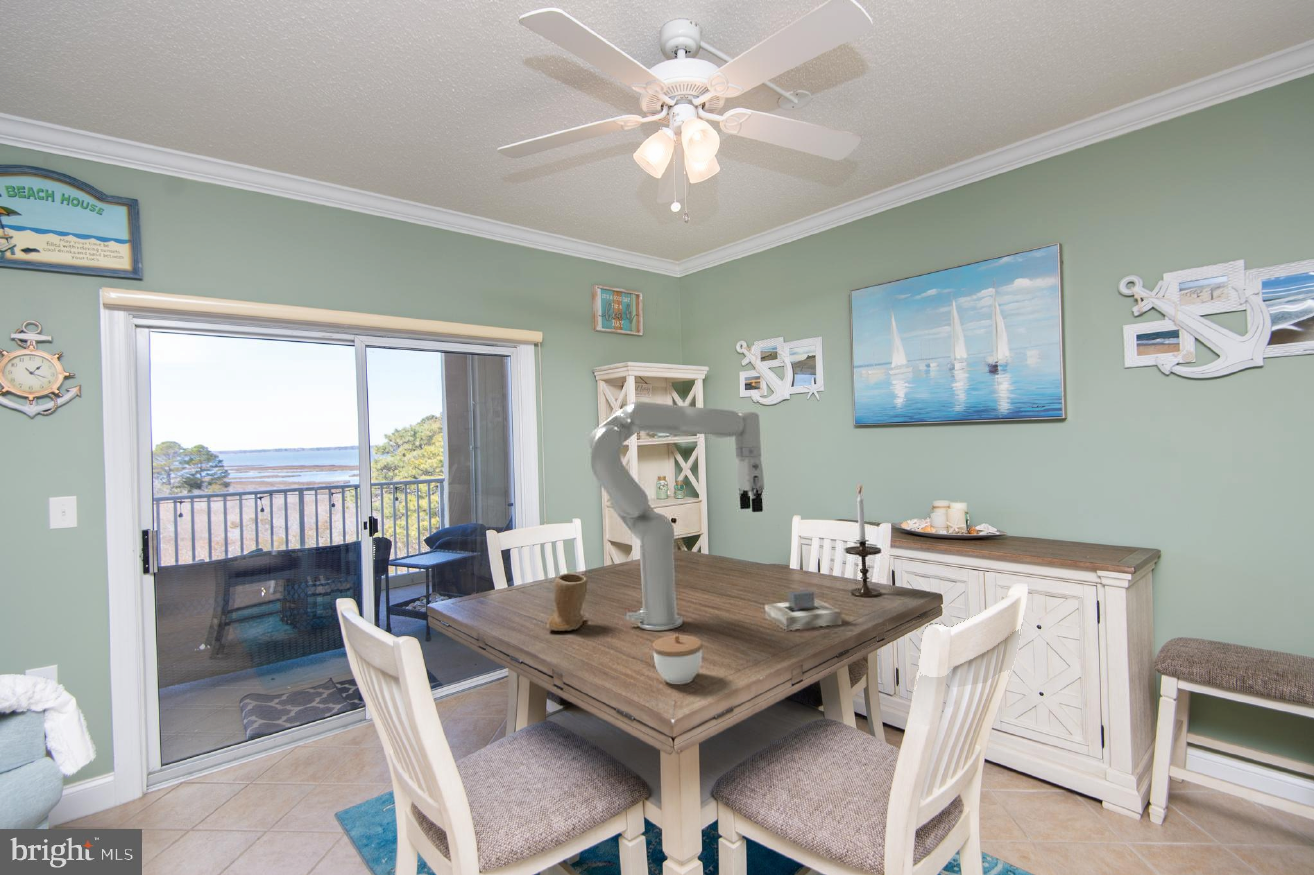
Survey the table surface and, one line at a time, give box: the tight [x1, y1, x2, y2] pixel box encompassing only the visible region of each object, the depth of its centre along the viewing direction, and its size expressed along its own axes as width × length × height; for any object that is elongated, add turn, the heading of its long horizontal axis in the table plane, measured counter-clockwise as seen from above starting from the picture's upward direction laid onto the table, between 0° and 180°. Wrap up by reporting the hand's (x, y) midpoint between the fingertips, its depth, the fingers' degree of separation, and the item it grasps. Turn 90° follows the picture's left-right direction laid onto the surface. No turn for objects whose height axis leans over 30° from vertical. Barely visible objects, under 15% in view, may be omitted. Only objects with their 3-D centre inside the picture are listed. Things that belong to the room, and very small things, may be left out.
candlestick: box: [844, 484, 882, 599], centre depth 189 cm, size 11×11×35 cm
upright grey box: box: [788, 589, 815, 612], centre depth 164 cm, size 6×4×8 cm, turn 103°
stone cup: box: [546, 572, 588, 632], centre depth 171 cm, size 15×12×15 cm
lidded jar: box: [652, 634, 703, 685], centre depth 128 cm, size 11×11×9 cm
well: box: [764, 598, 842, 632], centre depth 164 cm, size 16×14×4 cm
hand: (751, 510), depth 177 cm, fingers open, 9 cm apart
